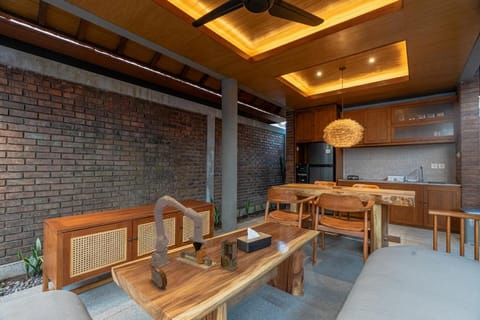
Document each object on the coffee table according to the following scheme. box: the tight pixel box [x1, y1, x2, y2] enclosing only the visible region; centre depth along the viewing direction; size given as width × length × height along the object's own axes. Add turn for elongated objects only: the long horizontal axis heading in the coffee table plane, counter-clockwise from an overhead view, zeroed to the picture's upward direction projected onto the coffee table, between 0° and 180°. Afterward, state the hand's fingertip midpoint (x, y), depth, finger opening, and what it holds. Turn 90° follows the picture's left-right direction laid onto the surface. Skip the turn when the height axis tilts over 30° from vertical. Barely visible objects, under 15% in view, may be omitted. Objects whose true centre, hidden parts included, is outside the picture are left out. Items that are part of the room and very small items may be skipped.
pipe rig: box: [175, 249, 217, 271], centre depth 148 cm, size 27×10×6 cm, turn 58°
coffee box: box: [220, 239, 239, 272], centre depth 141 cm, size 9×6×16 cm
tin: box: [150, 266, 168, 289], centre depth 119 cm, size 15×3×8 cm, turn 44°
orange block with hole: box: [197, 248, 207, 263], centre depth 145 cm, size 4×5×7 cm
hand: (197, 253), depth 147 cm, fingers closed
